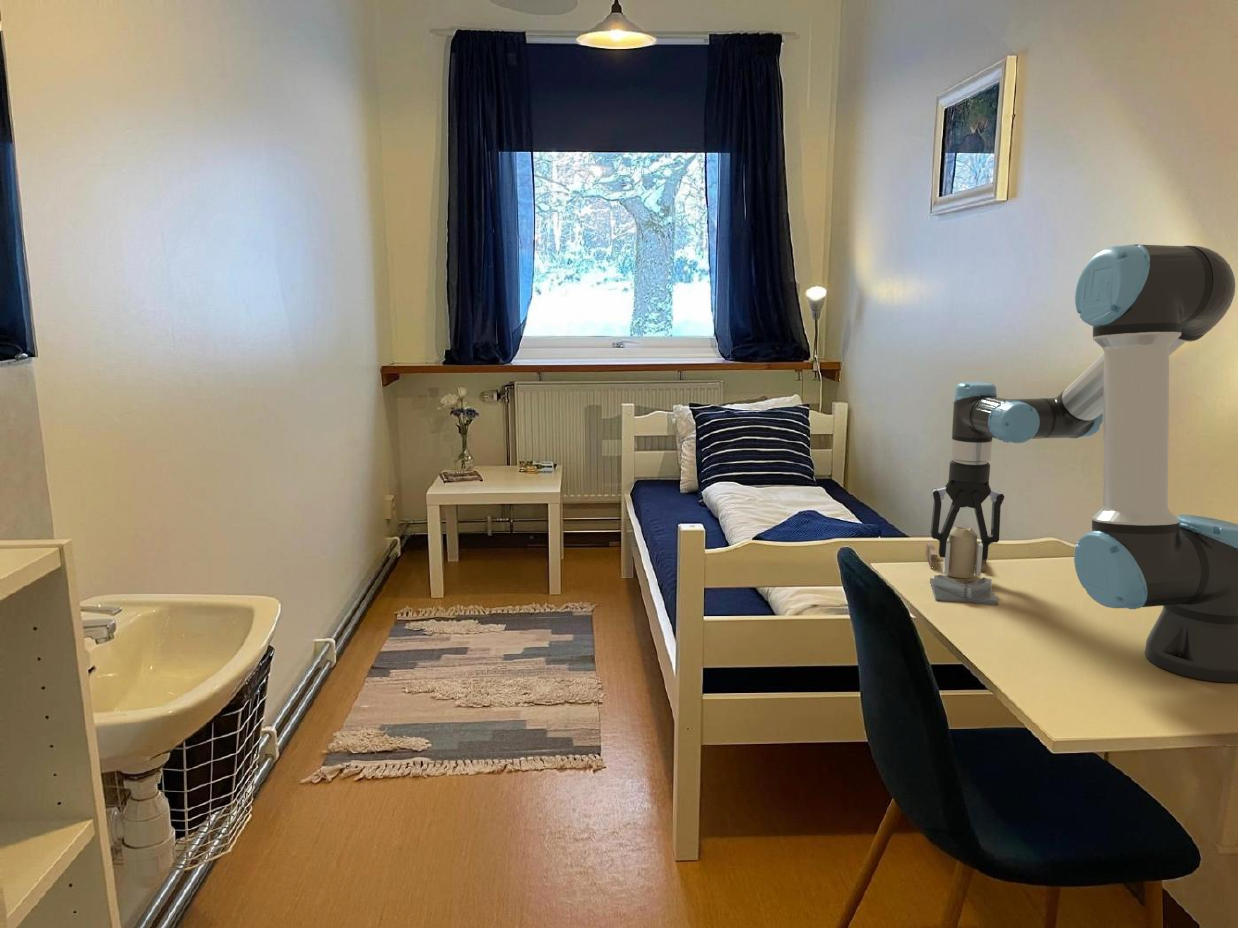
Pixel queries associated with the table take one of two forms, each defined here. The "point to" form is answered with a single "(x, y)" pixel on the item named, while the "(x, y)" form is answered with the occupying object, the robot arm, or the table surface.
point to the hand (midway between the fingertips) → (961, 573)
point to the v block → (963, 590)
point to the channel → (932, 557)
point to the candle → (962, 552)
